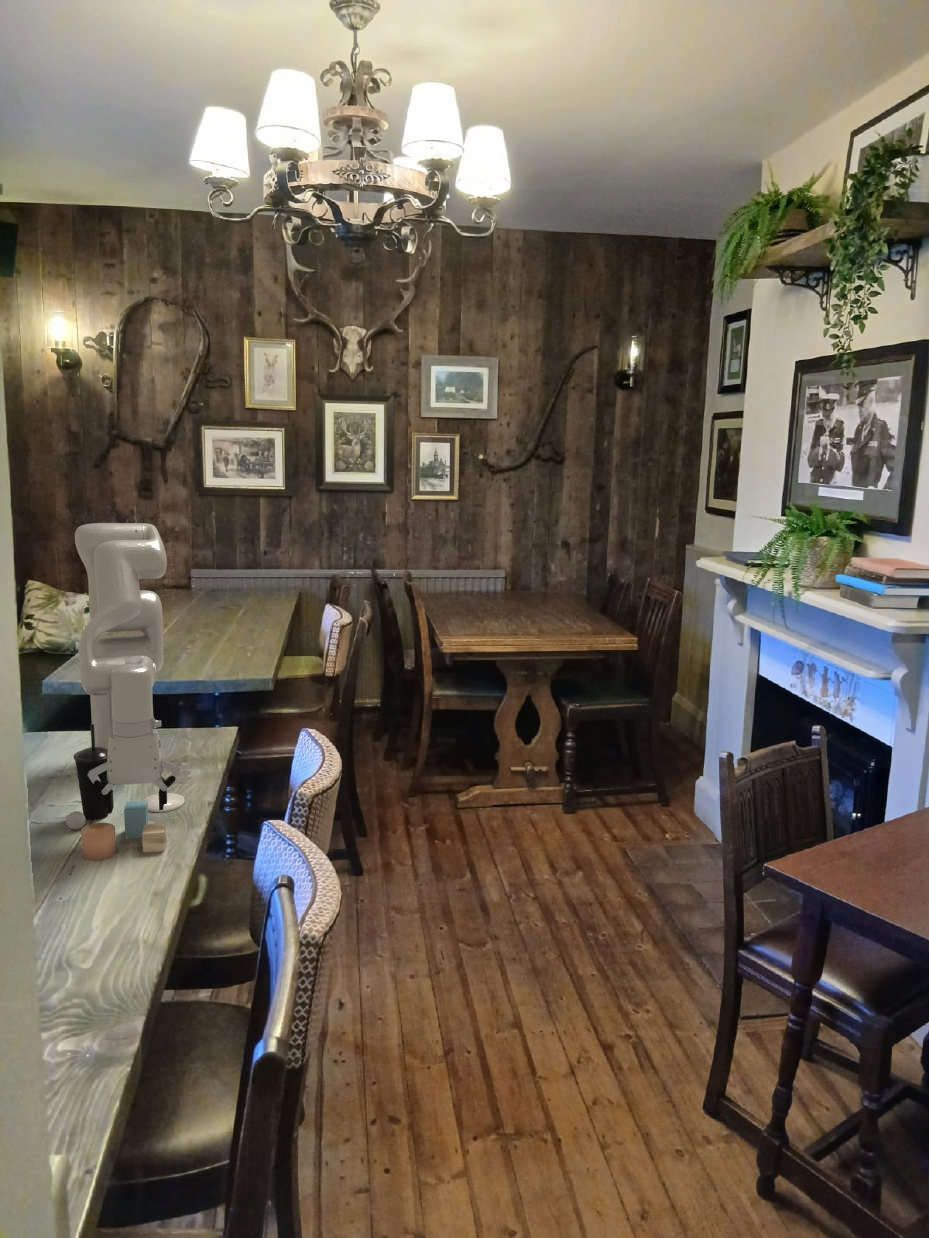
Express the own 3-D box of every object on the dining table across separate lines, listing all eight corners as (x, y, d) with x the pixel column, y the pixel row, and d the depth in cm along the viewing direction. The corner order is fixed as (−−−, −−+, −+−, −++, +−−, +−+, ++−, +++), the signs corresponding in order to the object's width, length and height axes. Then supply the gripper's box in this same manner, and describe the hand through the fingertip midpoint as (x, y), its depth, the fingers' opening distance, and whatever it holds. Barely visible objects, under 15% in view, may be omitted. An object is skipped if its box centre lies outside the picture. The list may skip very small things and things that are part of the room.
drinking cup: (101, 825, 180) (97, 732, 176) (68, 820, 181) (63, 728, 177) (123, 810, 187) (119, 720, 183) (91, 806, 189) (87, 717, 185)
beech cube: (144, 843, 173) (144, 824, 172) (166, 842, 174) (165, 823, 173) (142, 852, 169) (142, 833, 168) (164, 851, 170) (164, 832, 169)
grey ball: (68, 825, 179) (67, 808, 179) (87, 824, 180) (86, 807, 179) (64, 832, 176) (64, 816, 175) (84, 831, 177) (83, 814, 176)
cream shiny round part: (143, 796, 195) (143, 794, 195) (185, 794, 197) (185, 791, 197) (139, 813, 186) (138, 810, 186) (183, 810, 188) (183, 808, 188)
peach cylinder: (84, 847, 170) (83, 823, 169) (117, 845, 172) (116, 821, 171) (79, 862, 165) (78, 837, 164) (113, 859, 166) (112, 835, 165)
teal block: (127, 829, 179) (126, 801, 177) (148, 828, 180) (147, 800, 178) (125, 838, 175) (124, 809, 174) (146, 836, 176) (145, 808, 175)
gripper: (180, 719, 178) (182, 799, 181) (89, 723, 174) (92, 805, 177) (178, 730, 171) (180, 813, 174) (82, 735, 167) (86, 819, 170)
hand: (136, 809), depth 176 cm, fingers open, 9 cm apart
